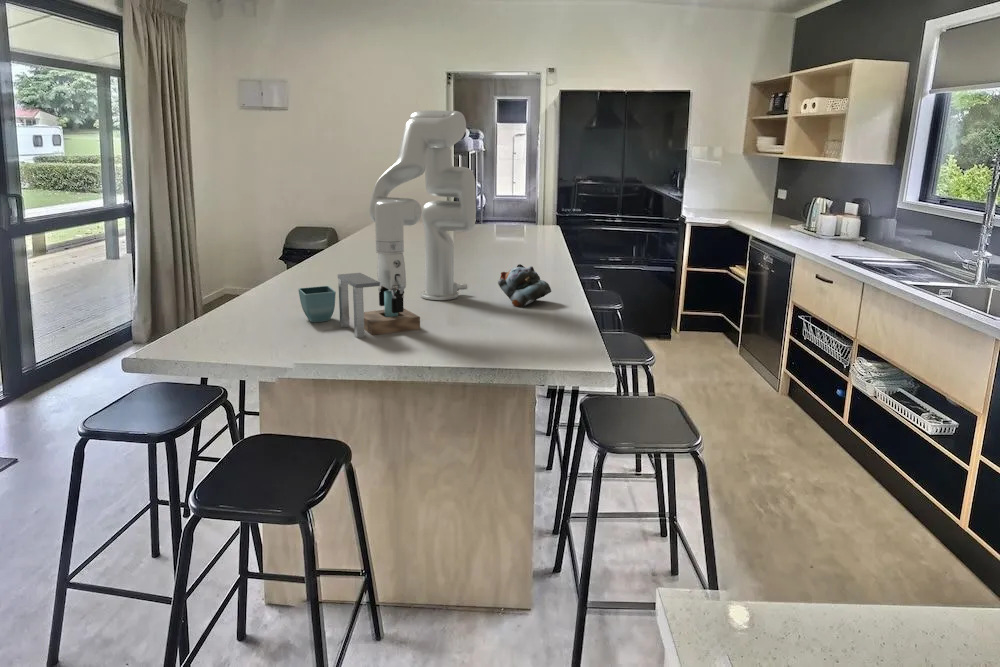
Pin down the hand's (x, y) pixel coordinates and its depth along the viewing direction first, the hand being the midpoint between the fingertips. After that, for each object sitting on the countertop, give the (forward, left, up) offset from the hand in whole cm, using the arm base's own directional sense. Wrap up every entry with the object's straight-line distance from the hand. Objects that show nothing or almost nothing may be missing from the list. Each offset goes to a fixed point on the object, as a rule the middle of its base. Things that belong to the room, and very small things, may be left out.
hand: (391, 308), depth 199 cm
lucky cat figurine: (-49, -9, -5) cm, 51 cm away
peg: (0, 0, -5) cm, 5 cm away
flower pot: (+16, -16, -5) cm, 23 cm away
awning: (+9, 0, -5) cm, 11 cm away
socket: (+1, 0, -5) cm, 5 cm away
